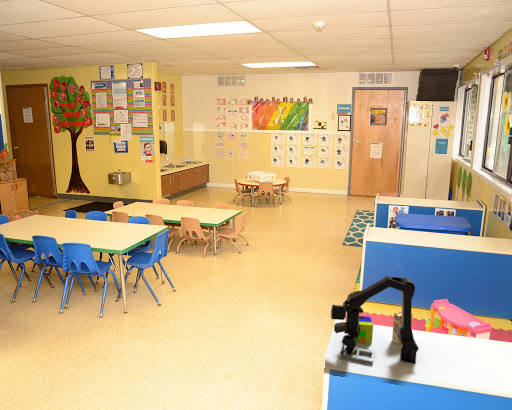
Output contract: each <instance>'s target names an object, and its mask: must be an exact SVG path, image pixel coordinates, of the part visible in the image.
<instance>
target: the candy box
mask: <svg viewBox="0 0 512 410" xmlns="http://www.w3.org/2000/svg"><path fill="white" fill-rule="evenodd" d="M413 315H414V313H412V312H411V329H412V328H413V327H412V326H413ZM392 323H393V325H392V326H393V327H392V336H391V341H392V342H393V343H395V344H397V345H398V344H402V343H401V341H400V340H399V338H398V335H397V333H398V329H397V327H401V325H402V311H400V312H395V313H394V314H393V322H392ZM412 330H413V329H412Z"/></svg>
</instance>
